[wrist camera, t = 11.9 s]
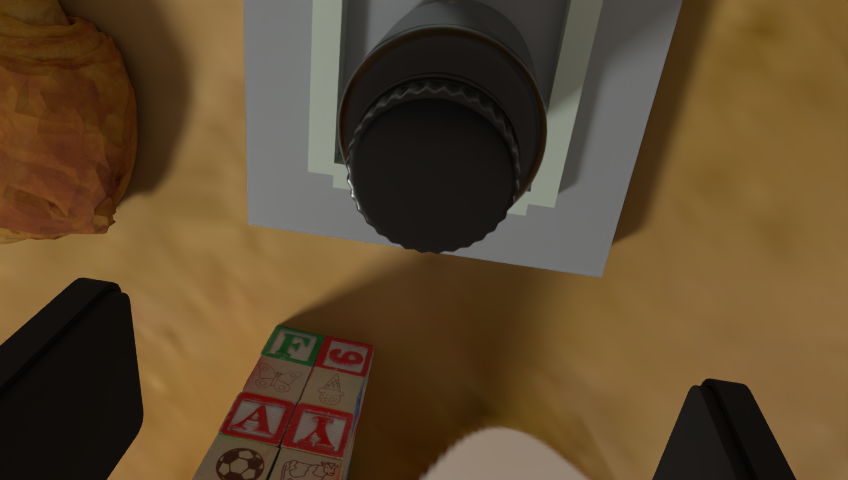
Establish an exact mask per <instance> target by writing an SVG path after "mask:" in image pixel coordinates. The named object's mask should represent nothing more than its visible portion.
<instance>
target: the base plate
mask: <svg viewBox="0 0 848 480" xmlns="http://www.w3.org/2000/svg"><path fill="white" fill-rule="evenodd" d="M431 1H435V0H244V45H245V96H246V147H247V198H248V224H249V225H256V226H262V227H269V228H276V229H282V230H289V231H296V232H302V233H309V234H315V235H322V236H329V237H335V238H342V239H349V240H355V241H362V242H369V243H375V244H382V245H389V246H395V247H402V246H401V245H400V244H394V243H391V242H390V241H389V240H388V239H387V238H386V237H384V236H382V235H379V234H378V233H377V232H376V230H375V228H374V227H372V226H370V225H369V224H367V223H366V221H365V218H364V216H363V215H362V214H361V213H360V212H359V211H358V210H357V207H356V202H355V201H354V200H353V198H352V197H351V196H350V191H351V187H350V186H349V184H348V182H347V175H348V170H347V168H346V166H345V163H344V161H343V157H342V154H341V150H340V145H339V137H338V117H339V109H340V105H341V101H342V97H343V94H344V91H345V89H346V87H347V85H348V82H349V81H350V79H351V77H352V75H353V73H354V72H355V70H356V69H357V67H358V66H359V65H360V63H361V62H362V61H363V59H364V58H365V57H366V56H367V55H368V54H369V53H370V52H371V50H372V49H373V48H374V47H375V46H376V45H377V44H378V43H379V41H380V40H381V39H382V38H383V37H384V36H385V35H386V34H387V33H388V31H389V30H390V29H391V28H392V27H393V26H394V25H395V24H396V23H397V22H398V21H399V20H400V19H401V18H402V17H404V16H405V15H406V14H407V13H409V12H410V11H412V10H413V9H415V8H417V7H419V6H421V5H423V4H425V3H428V2H431ZM474 1H478V2H481V3H483V4H486V5H488V6H490V7H492V8H494V9H495V10H497V11H498V12H500V13H501V14H503V15H504V16H505V17H506V18H507V19H508V20H509V21H510V22H511V23H512V24H513V25H514V26H515V27H516V29H517V30H518V31H519V32H520V34H521V36H522V37H523V39H524V41H525V43H526V45H527V47H528V50H529V52H530V55H531V58H532V61H533V65H534V68H535V72H536V75H537V78H538V82H539V85H540V89H541V92H542V96H543V100H544V104H545V109H546V115H547V143H546V149H545V153H544V157H543V161H542V163H541V166H540V169H539V171H538V173H537V175H536V177H535V179H534V180H533V182H532V184H531V185H530V187H529V188H528V190H527V191H526V192H525V193H524V195H523V196H522V197H521V198H520V199H519V200H518V201H517V202H516V203H515V204H514V205H513V206H512V207H511V208H510V209H509V210H508V211H507V216H506V219H504V220H503V221H501V222H500V223H498V226H497V228H496V230H495V231H493V232H491V233H488V234H487V235H486V237H485V238H484V239H483V240H482V241H478V242H474V243H473V244H472V245H471V246H470V247H468V248H459V249H458V250H456V251H454V252H447V251H444V252H442V254H448V255H455V256H462V257H468V258H475V259H482V260H488V261H495V262H501V263H508V264H515V265H521V266H528V267H535V268H541V269H548V270H555V271H561V272H568V273H575V274H581V275H588V276H594V277H601V278H602V275H603V271H604V268H605V265H606V261H607V258H608V254H609V251H610V248H611V244H612V241H613V237H614V234H615V230H616V227H617V224H618V220H619V217H620V213H621V210H622V207H623V203H624V200H625V196H626V193H627V189H628V186H629V183H630V179H631V176H632V172H633V169H634V166H635V162H636V159H637V155H638V152H639V148H640V145H641V142H642V138H643V135H644V131H645V128H646V124H647V121H648V118H649V114H650V111H651V107H652V104H653V101H654V97H655V94H656V90H657V87H658V83H659V80H660V77H661V73H662V70H663V66H664V63H665V60H666V56H667V53H668V49H669V46H670V42H671V39H672V36H673V32H674V29H675V25H676V22H677V18H678V15H679V12H680V8H681V5H682V1H683V0H474ZM402 248H404V247H402Z"/></svg>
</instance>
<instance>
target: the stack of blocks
mask: <svg viewBox="0 0 848 480" xmlns="http://www.w3.org/2000/svg"><path fill="white" fill-rule="evenodd" d="M373 354H374V346H370V345H365V344H361V343H356V342H352V341H347V340H342V339H338V338H333V337H329V336H321V335H317V334H312V333H308V332H303V331H299V330H294V329H290V328H285V327H281V326H276V327H275V329H274V331H273V333H272V334H271V336H270V338H269V339H268V341H267V343H266V345H265V346H264V348H263V350H262V351H261V353H260V356H259V360H258V362H257V364H256V366H255V368H254V369H253V371H252V373H251V375H250V376H249V378H248V380H247V382H246V384H245V386H244V388H243V391H242V392H241V393H239V394H238V396H237V398H236V399H235V401H234V403H233V405H232V407H231V409H230V411H229V413H228V414H227V416H226V418H225V420H224V422H223V424H222V425H221V427H220V429H219V432H218V435H217V436H216V438H215V440H214V442H213V443H212V445H211V447H210V449H209V450H208V452H207V454H206V455H205V457H204V459H203V461H202V463H201V464H200V466H199V468H198V470H197V471H196V473H195V475H194V477H193V479H192V480H347V476H348V471H349V466H350V461H351V456H352V450H353V445H354V440H355V435H356V430H357V427H358V423H359V419H360V414H361V410H362V405H363V400H364V395H365V391H366V387H367V383H368V378H369V373H370V369H371V364H372V359H373Z"/></svg>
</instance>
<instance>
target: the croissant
mask: <svg viewBox="0 0 848 480" xmlns="http://www.w3.org/2000/svg"><path fill="white" fill-rule="evenodd" d="M136 113H137V106H136V100H135V93H134V90H133V88H132V85H131V83H130V80H129V78H128V75H127V73H126V69H125V66H124V63H123V59H122V56H121V53H120V52H119V51H118V49H117V47H116V45H115V43H114V41H113V39H112V37H111V35H110V36H105V35H104V34H103V33H99V32H98V30H97V29H96V25H95V24H94V23H93V22H88V21H86V20H85V19H84V18H80V17H66V16H65V14H64V12H63V11H62V9H61V7H60V5H59V3H58V1H57V0H0V244H8V243H15V242H18V241H22V240H25V239H35V240H41V239H53V240H55V239H58V238H60V237H63V236H66V235H69V234H105V233H107V230H108V228H109V226H111V225H112V224H114V223H115V221H114V220H113V216H112V215H114V214H115V213H116V207H117V204H118V202H119V201H120V200H121V198H122V197H123V195H124V194H125V191H126V189H127V186H128V184H129V181H130V177H131V174H132V170H133V167H134V163H135V158H136V152H137V140H138V138H137V115H136Z"/></svg>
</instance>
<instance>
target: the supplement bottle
mask: <svg viewBox="0 0 848 480" xmlns="http://www.w3.org/2000/svg"><path fill="white" fill-rule="evenodd" d="M338 137H339V145H340V150H341V154H342V157H343V161H344V163H345V166H346V168H347V170H348V175H347V182H348V184H349V186H350V187H351V191H350V196H351V197H352V198H353V200H354V201H355V202H356V207H357V210H358V211H359V212H360V213H361V214H362V215H363V216H364V218H365V221H366V223H367V224H369V225H370V226H372V227H374V228H375V230H376V232H377V233H378V234H379V235H382V236H384V237H386V238H387V239H388V240H389V241H390V242H391V243H394V244H400V245H401V246H402V247H404V248H405V249H415V250H417V251H419V252H421V253H424V252H433V253H436V254H439V253H442V252H444V251H447V252H454V251H456V250H458V249H459V248H468V247H470V246H471V245H472V244H473V243H474V242H478V241H482V240H483V239H484V238H485V237H486V235H487V234H488V233H491V232H493V231H495V230H496V228H497V226H498V223H500V222H501V221H503V220H504V219H506V216H507V211H508V210H509V209H510V208H511V207H512V206H513V205H514V204H515V203H516V202H517V201H518V200H519V199H520V198H521V197H522V196H523V195H524V193H525V192H526V191H527V190H528V188H529V187H530V185H531V184H532V182H533V180H534V179H535V177H536V175H537V173H538V171H539V169H540V166H541V163H542V161H543V157H544V153H545V149H546V143H547V115H546V109H545V104H544V100H543V96H542V92H541V89H540V85H539V82H538V78H537V75H536V72H535V68H534V65H533V61H532V58H531V55H530V52H529V50H528V47H527V45H526V43H525V41H524V39H523V37H522V36H521V34H520V32H519V31H518V30H517V29H516V27H515V26H514V25H513V24H512V23H511V22H510V21H509V20H508V19H507V18H506V17H505V16H504V15H503V14H501V13H500V12H498V11H497V10H495V9H494V8H492V7H490V6H488V5H486V4H483V3H481V2H478V1H474V0H435V1H431V2H428V3H425V4H423V5H421V6H419V7H417V8H415V9H413V10H412V11H410V12H409V13H407V14H406V15H405V16H404V17H402V18H401V19H400V20H399V21H398V22H397V23H396V24H395V25H394V26H393V27H392V28H391V29H390V30H389V31H388V33H387V34H386V35H385V36H384V37H383V38H382V39H381V40H380V41H379V43H378V44H377V45H376V46H375V47H374V48H373V49H372V50H371V52H370V53H369V54H368V55H367V56H366V57H365V58H364V59H363V61H362V62H361V63H360V65H359V66H358V67H357V69H356V70H355V72H354V73H353V75H352V77H351V79H350V81H349V82H348V85H347V87H346V89H345V91H344V94H343V97H342V101H341V105H340V109H339V117H338Z"/></svg>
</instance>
